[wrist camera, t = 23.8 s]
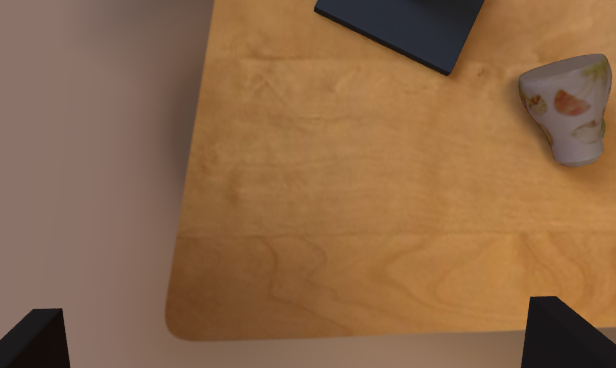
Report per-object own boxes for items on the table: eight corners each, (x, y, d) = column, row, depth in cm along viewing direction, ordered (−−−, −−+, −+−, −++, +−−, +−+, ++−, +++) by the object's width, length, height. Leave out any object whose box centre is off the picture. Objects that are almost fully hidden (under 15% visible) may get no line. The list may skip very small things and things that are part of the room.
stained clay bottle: (541, 188, 43) (560, 135, 34) (502, 107, 47) (510, 44, 39) (624, 164, 42) (667, 103, 33) (576, 83, 46) (602, 12, 37)
